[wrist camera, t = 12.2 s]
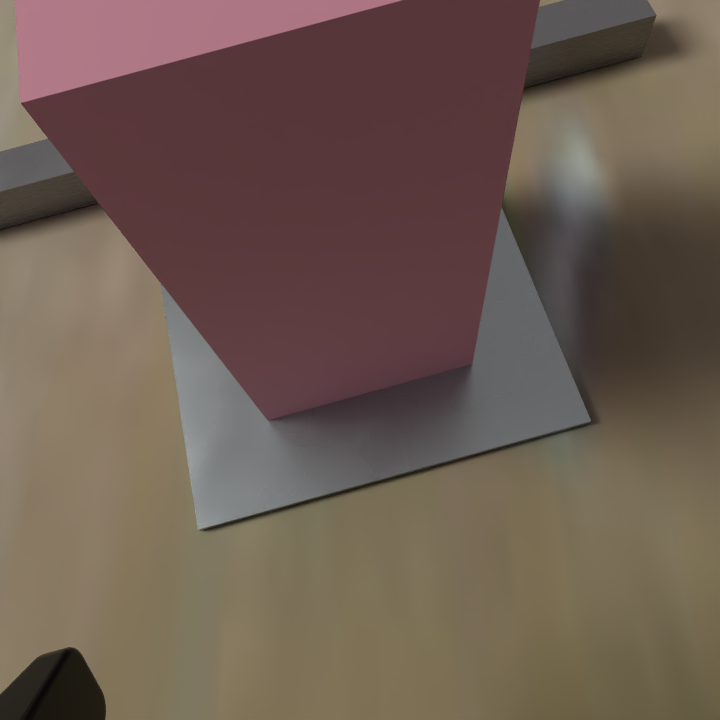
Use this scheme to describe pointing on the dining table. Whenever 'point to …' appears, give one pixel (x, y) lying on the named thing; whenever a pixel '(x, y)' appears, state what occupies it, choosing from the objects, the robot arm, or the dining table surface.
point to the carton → (295, 169)
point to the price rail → (388, 405)
